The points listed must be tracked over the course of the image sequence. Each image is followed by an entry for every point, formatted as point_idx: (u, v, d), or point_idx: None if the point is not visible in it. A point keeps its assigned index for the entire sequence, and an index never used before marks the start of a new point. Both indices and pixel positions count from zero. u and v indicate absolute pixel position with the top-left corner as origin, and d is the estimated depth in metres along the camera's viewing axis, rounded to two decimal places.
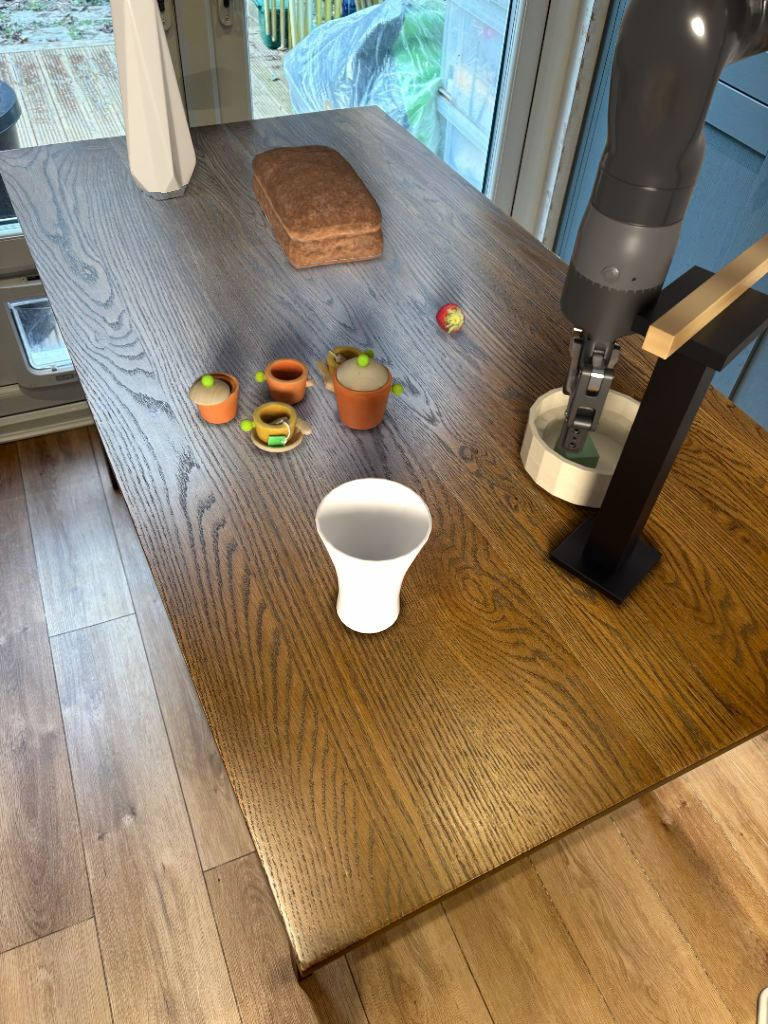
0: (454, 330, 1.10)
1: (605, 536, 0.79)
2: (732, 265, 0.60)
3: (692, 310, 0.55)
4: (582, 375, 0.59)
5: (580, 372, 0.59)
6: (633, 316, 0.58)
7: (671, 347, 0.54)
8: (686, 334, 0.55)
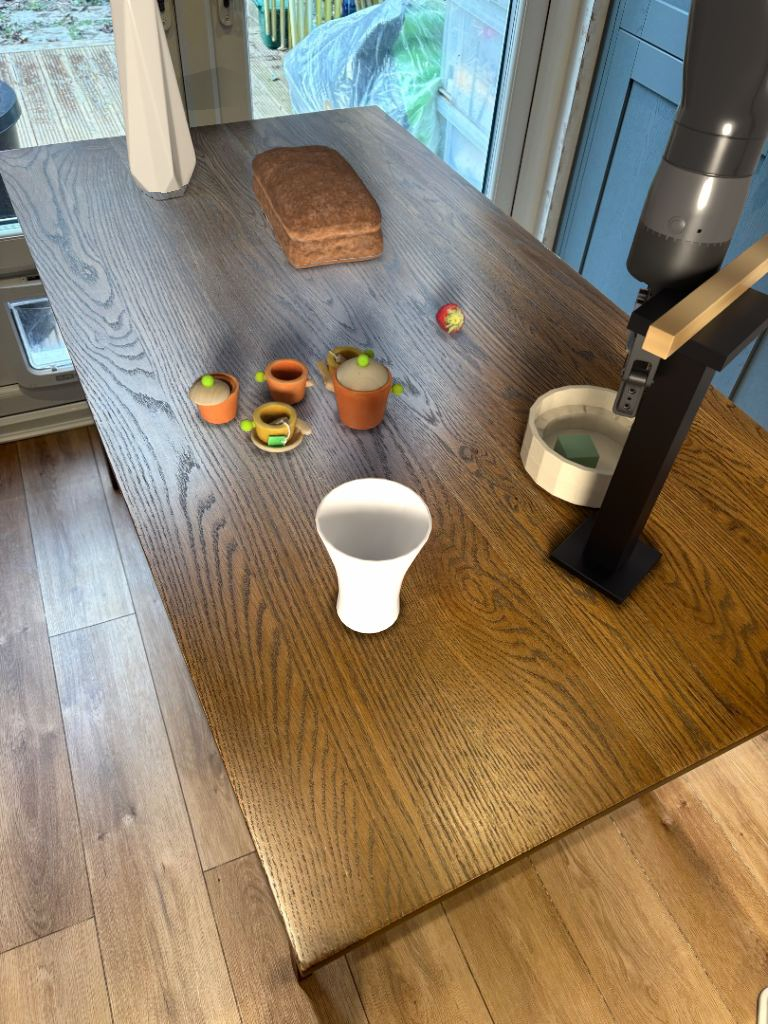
0: (454, 330, 1.10)
1: (605, 536, 0.79)
2: (732, 265, 0.60)
3: (692, 310, 0.55)
4: None
5: None
6: (696, 271, 0.60)
7: (671, 347, 0.54)
8: (686, 334, 0.55)
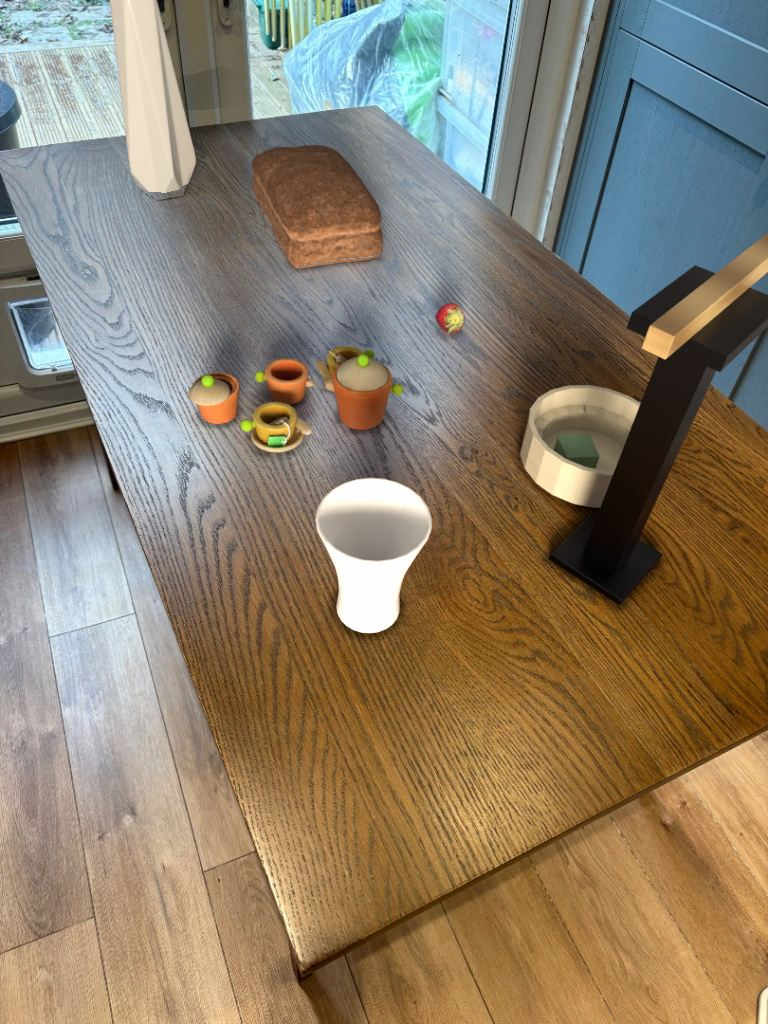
0: (454, 330, 1.10)
1: (605, 536, 0.79)
2: (732, 265, 0.60)
3: (692, 310, 0.55)
4: None
5: None
6: None
7: (671, 347, 0.54)
8: (686, 334, 0.55)
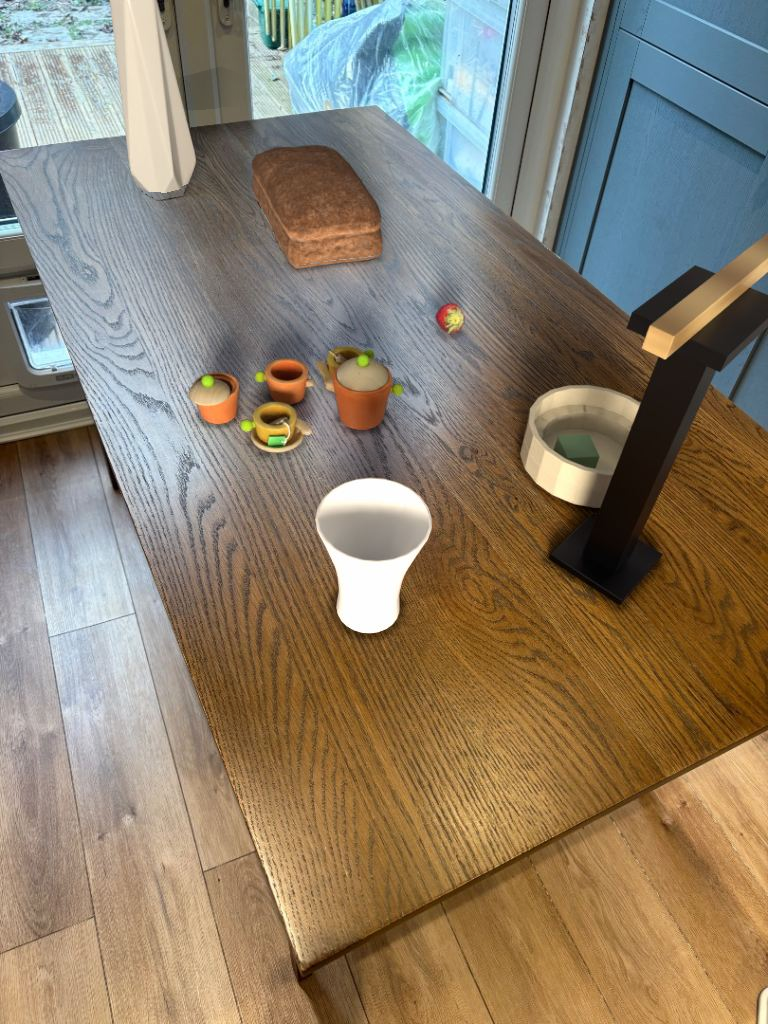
0: (454, 330, 1.10)
1: (605, 536, 0.79)
2: (732, 265, 0.60)
3: (692, 310, 0.55)
4: None
5: None
6: None
7: (671, 347, 0.54)
8: (686, 334, 0.55)
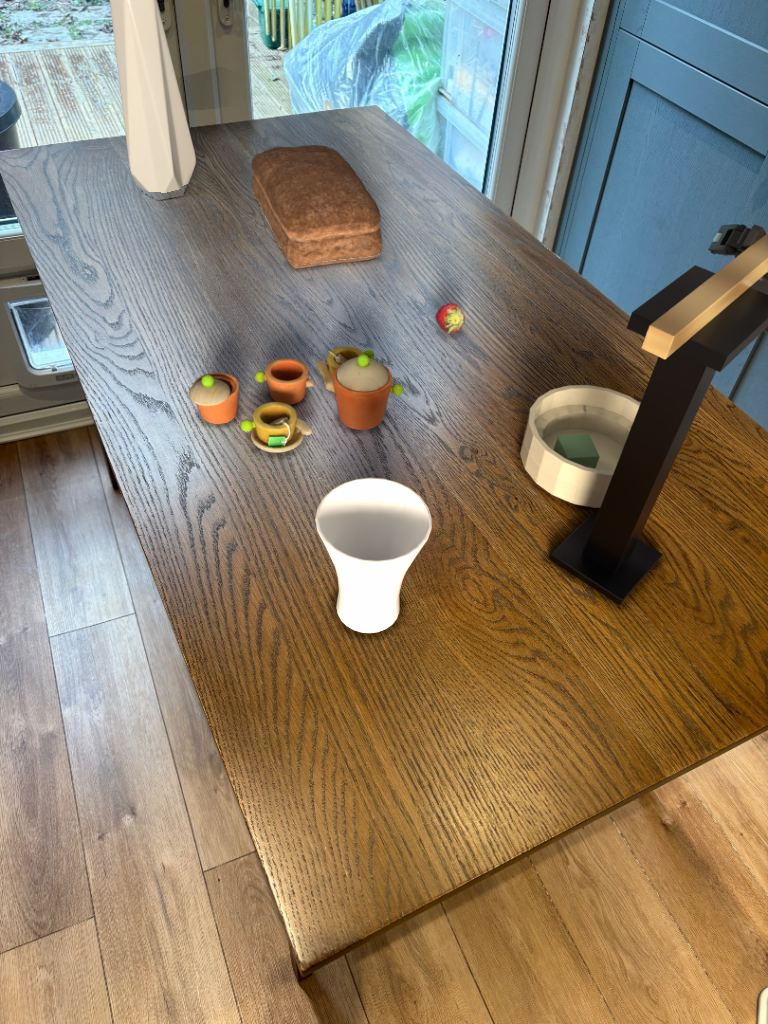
0: (454, 330, 1.10)
1: (605, 536, 0.79)
2: (732, 265, 0.60)
3: (692, 310, 0.55)
4: None
5: (711, 252, 0.73)
6: None
7: (671, 347, 0.54)
8: (686, 334, 0.55)
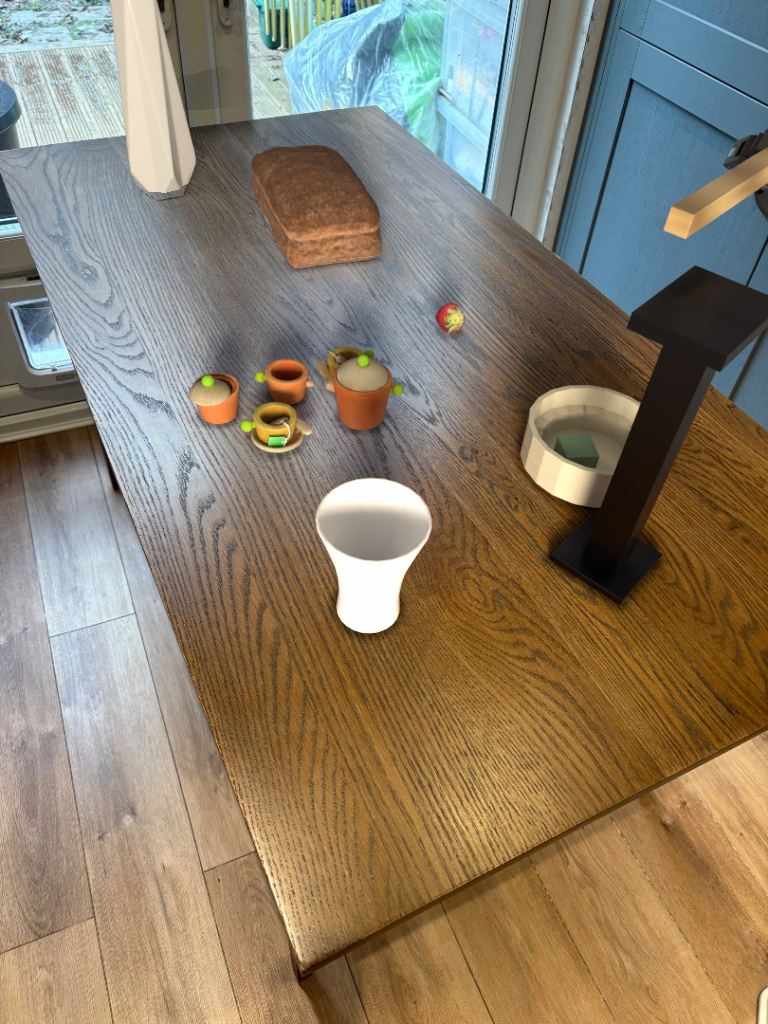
0: (454, 330, 1.10)
1: (605, 536, 0.79)
2: (746, 163, 0.65)
3: (710, 196, 0.60)
4: None
5: (726, 167, 0.78)
6: None
7: (691, 226, 0.59)
8: (704, 217, 0.60)
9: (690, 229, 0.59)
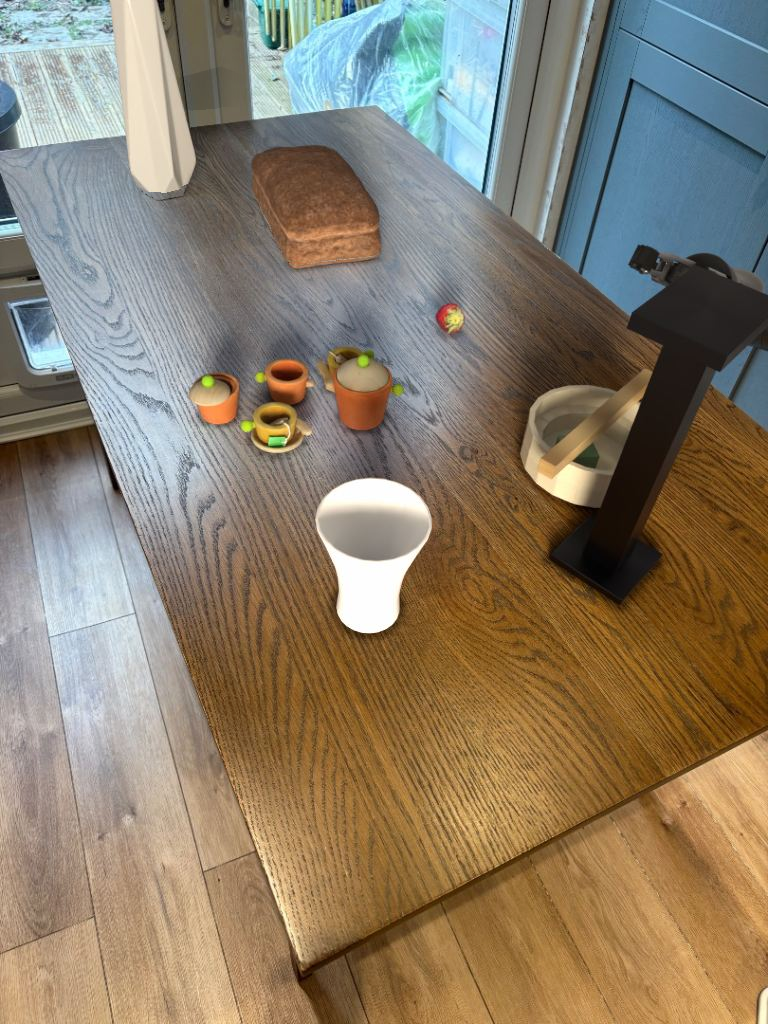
0: (454, 330, 1.10)
1: (605, 536, 0.79)
2: (604, 406, 0.89)
3: (570, 445, 0.84)
4: (637, 270, 0.91)
5: (639, 272, 0.91)
6: None
7: (554, 472, 0.82)
8: (566, 462, 0.83)
9: (554, 473, 0.82)
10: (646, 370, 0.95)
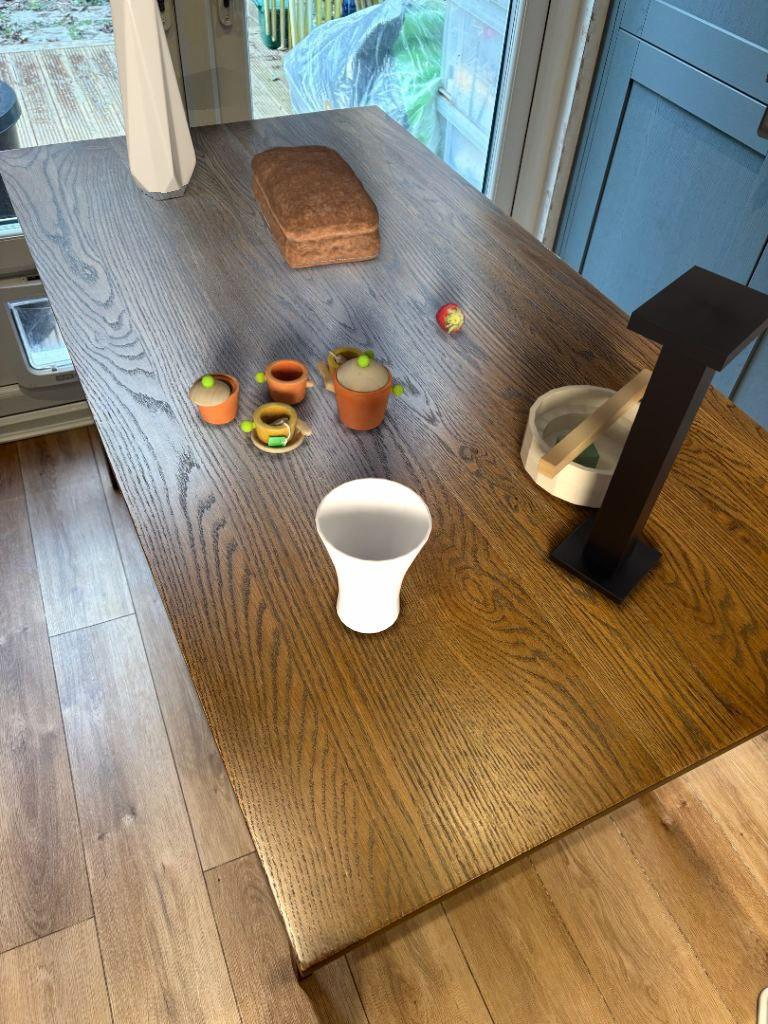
0: (454, 330, 1.10)
1: (605, 536, 0.79)
2: (604, 406, 0.89)
3: (570, 445, 0.84)
4: None
5: None
6: None
7: (554, 472, 0.82)
8: (566, 462, 0.83)
9: (554, 473, 0.82)
10: (646, 370, 0.95)
